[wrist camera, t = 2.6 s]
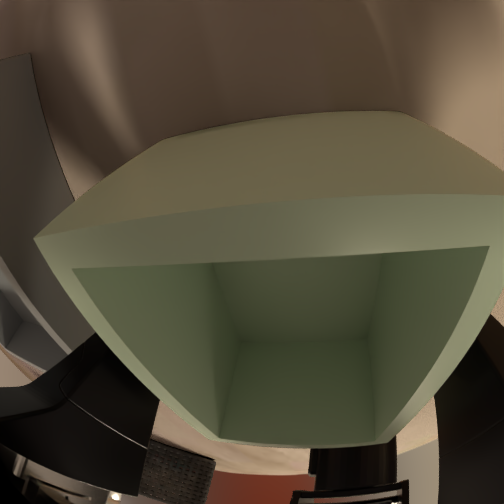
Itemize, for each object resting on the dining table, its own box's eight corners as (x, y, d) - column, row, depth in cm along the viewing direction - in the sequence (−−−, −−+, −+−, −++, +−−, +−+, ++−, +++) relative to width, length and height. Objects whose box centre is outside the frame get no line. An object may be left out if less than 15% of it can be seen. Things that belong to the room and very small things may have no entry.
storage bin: (102, 425, 52) (87, 465, 41) (86, 408, 40) (66, 460, 29) (204, 463, 54) (194, 504, 43) (220, 458, 42) (207, 513, 31)
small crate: (400, 111, 5) (534, 196, 2) (376, 334, 11) (387, 442, 7) (163, 139, 7) (32, 238, 3) (233, 338, 12) (208, 439, 8)
